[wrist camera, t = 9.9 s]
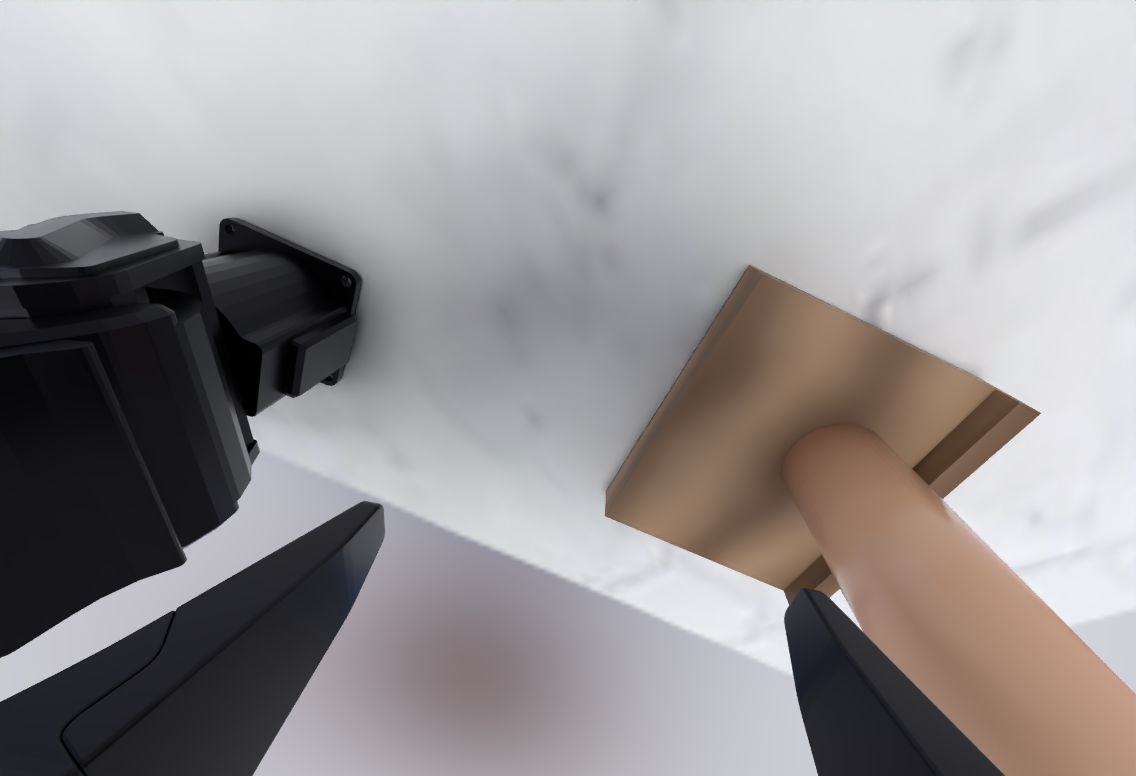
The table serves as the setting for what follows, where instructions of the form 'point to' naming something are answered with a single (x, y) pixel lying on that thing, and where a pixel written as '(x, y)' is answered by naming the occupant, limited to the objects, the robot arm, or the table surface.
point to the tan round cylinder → (958, 613)
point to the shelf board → (794, 428)
